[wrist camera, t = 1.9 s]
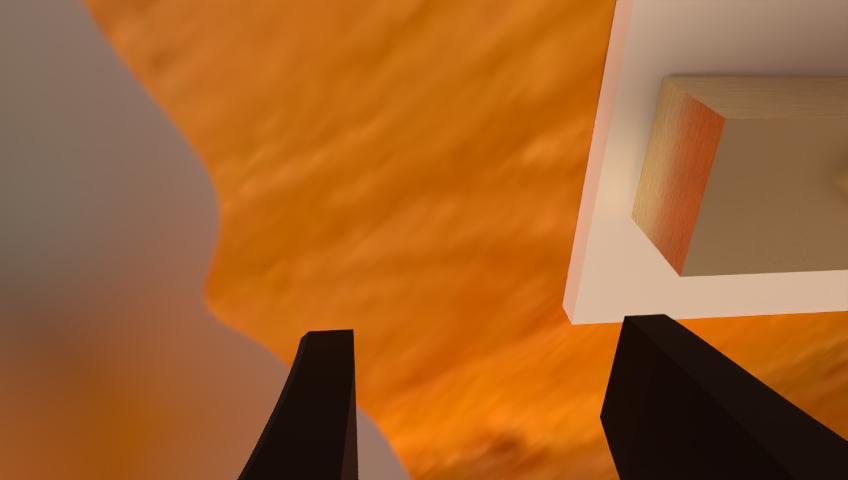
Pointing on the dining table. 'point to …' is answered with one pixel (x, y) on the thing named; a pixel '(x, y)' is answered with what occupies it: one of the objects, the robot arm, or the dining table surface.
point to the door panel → (628, 138)
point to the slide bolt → (747, 175)
